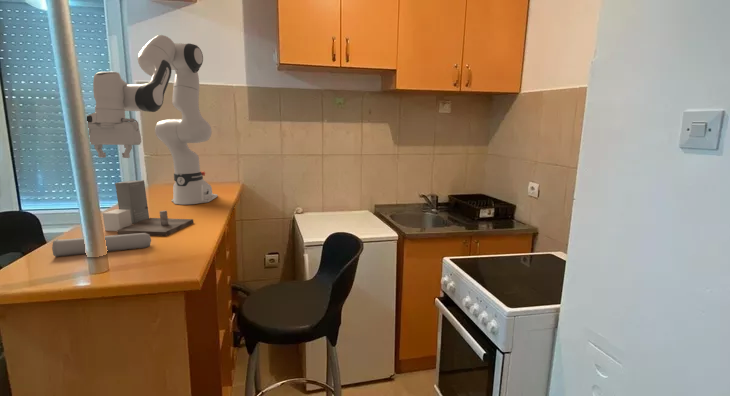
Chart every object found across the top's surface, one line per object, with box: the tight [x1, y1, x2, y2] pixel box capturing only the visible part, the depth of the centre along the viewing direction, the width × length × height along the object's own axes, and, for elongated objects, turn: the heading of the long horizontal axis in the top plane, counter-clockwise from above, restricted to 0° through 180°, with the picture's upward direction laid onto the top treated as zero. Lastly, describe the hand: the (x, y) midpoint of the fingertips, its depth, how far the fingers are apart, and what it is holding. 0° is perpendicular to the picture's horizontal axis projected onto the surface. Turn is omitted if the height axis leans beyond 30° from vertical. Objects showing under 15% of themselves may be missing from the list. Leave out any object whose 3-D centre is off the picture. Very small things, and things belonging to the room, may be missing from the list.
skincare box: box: [114, 179, 150, 224], centre depth 153 cm, size 8×7×16 cm
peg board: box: [116, 210, 194, 237], centre depth 143 cm, size 17×18×6 cm
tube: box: [51, 233, 152, 258], centre depth 119 cm, size 5×5×25 cm
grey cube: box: [102, 208, 133, 232], centre depth 143 cm, size 6×6×6 cm
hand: (114, 157), depth 140 cm, fingers open, 8 cm apart
